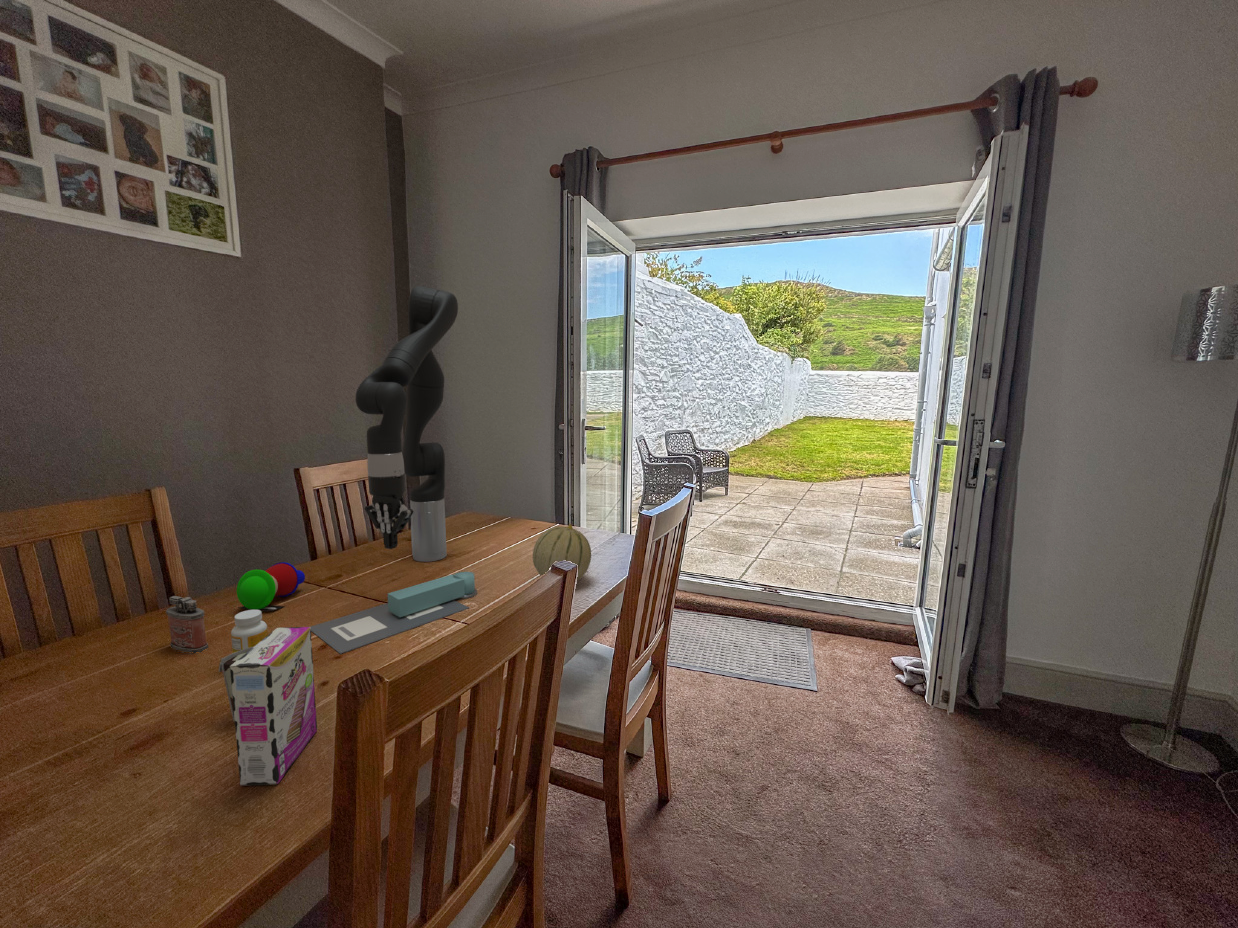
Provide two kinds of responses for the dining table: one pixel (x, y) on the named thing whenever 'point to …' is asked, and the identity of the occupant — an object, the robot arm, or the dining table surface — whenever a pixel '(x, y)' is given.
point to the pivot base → (468, 595)
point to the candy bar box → (273, 704)
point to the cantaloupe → (562, 549)
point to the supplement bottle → (248, 630)
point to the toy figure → (268, 586)
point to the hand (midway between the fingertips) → (391, 547)
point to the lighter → (186, 625)
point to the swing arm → (430, 593)
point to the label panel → (377, 625)
